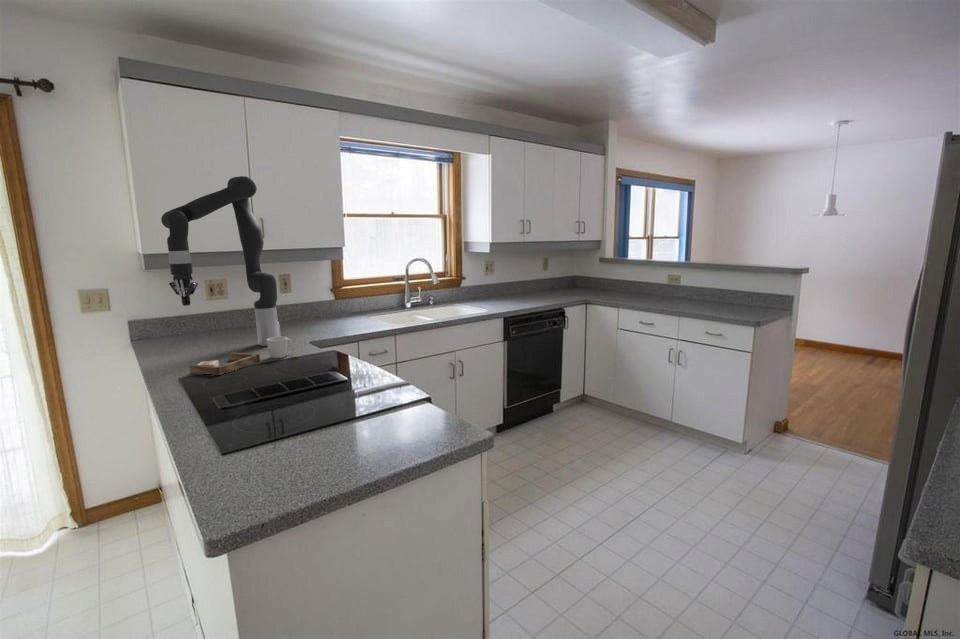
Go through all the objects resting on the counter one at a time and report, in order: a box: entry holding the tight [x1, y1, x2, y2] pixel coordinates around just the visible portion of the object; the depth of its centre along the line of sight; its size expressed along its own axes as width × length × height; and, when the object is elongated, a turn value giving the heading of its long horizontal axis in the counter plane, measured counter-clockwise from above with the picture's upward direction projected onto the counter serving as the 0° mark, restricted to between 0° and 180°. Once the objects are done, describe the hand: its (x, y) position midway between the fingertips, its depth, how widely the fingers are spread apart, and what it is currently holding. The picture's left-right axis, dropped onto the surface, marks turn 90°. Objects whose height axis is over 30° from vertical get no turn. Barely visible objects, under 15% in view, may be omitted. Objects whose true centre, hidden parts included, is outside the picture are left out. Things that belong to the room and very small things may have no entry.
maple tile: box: [197, 359, 220, 367], centre depth 185 cm, size 6×6×3 cm
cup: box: [266, 335, 293, 359], centre depth 202 cm, size 11×8×8 cm
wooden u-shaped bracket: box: [189, 351, 261, 376], centre depth 188 cm, size 20×14×3 cm
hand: (186, 305), depth 195 cm, fingers closed
